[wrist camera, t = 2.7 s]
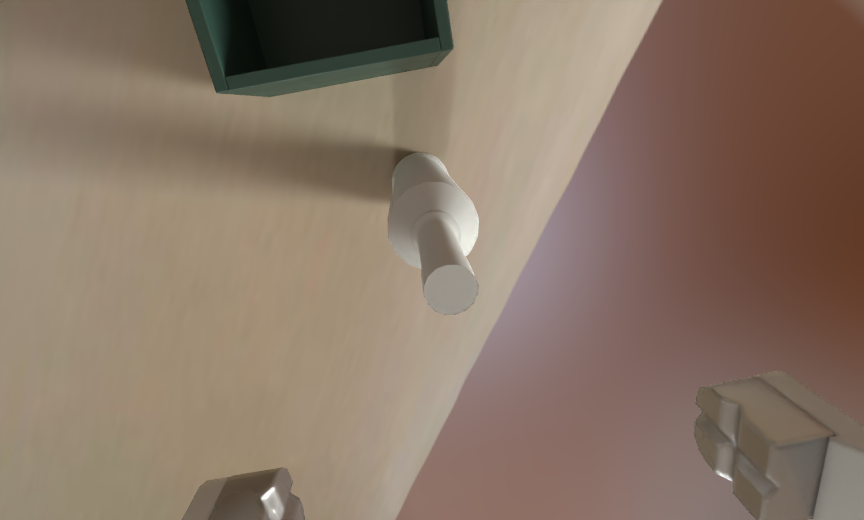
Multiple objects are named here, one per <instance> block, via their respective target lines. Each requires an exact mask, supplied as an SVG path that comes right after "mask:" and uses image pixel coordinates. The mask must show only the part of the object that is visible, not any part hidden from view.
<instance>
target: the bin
mask: <svg viewBox="0 0 864 520" xmlns="http://www.w3.org/2000/svg"><path fill="white" fill-rule="evenodd" d="M186 3H187V6H188V9H189V12H190V15H191V18H192V21H193V24H194V27H195V30H196V33H197V36H198V39H199V42H200V45H201V48H202V51H203V54H204V57H205V60H206V63H207V66H208V69H209V72H210V75H211V78H212V81H213V85H214V88H215V91H216V93H222V94H235V95H249V96H263V97H272V96H278V95H283V94H288V93H294V92H299V91H304V90H310V89H315V88H320V87H326V86H331V85H336V84H342V83H347V82H352V81H358V80H363V79H368V78H374V77H379V76H384V75H390V74H395V73H400V72H406V71H411V70H416V69H422V68H427V67H432V66H437V65H438V64H439V63H440V62H441V61H442V60H443V59H444V58H445V57H446V56H447V55H448V54H449V53H450V52H451V51H452V50H453V48H454V47H453V40H452V33H451V26H450V19H449V12H448V5H447V0H186Z"/></svg>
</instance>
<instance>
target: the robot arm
mask: <svg viewBox="0 0 864 520" xmlns="http://www.w3.org/2000/svg"><path fill="white" fill-rule="evenodd" d="M696 405H697V406H698V407H699V408H700V409H701V410H702V413H701V414H700V415H699V417H698V418H697V419H696V421H695V422H694V436H695V439H696V442H697V445H698V448H699V451H700V452H701V454H702V456H703V458H704V459H705V461H706V462H707V463H708V465H709V466H710V467H711V468H712V470H713V471H714V472H715V473H717V474H719V475H721V476H723V477H724V478H726V479H729V480H730V481H732V487H733V494H734V495H735V496H736V498H737V499H738V500H739V501H740V502H741V503H742V505H743V506H744V507H745V508H746V509H747V510H748V511H749V513H750V514H751V515H752V516H753V517H754V518H755V519H756V520H810V519H813V520H864V426H863V425H862V424H860V423H859V422H857V421H856V420H854V419H853V418H852V417H850V416H848V415H847V414H846V413H844V412H843V411H841V410H840V409H838V408H837V407H835V406H834V405H833V404H831V403H829V402H828V401H827V400H825V399H824V398H822V397H821V396H820V395H818V394H816V393H815V392H814V391H812V390H811V389H809V388H808V387H806V386H805V385H803V384H802V383H801V382H799V381H798V380H796V379H795V378H793V377H792V376H790V375H789V374H787V373H784V372H780V371H775V372H770V373H765V374H760V375H755V376H752V377H747V378H742V379H737V380H732V381H727V382H722V383H717V384H712V385H707V386H702V387H700V388H699V390H698V391H697V393H696ZM292 483H293V480H292V478H291V476H290V474H289V472H288V469H286V468H277V469H271V470H265V471H259V472H252V473H246V474H240V475H234V476H232V477H227V478H220V479H214V480H208V481H206V482H205V483H204V484H202V485H201V486H200V487H199V489H198V490H197V492H196V494H195V496H194V498H193V500H192V502H191V504H190V505H189V507H188V509H187V511H186V513H185V515H184V517H183V519H182V520H305V516H304V510H303V506H302V503H301V501H300V498H298V497H297V496H295V495H294V494H292V493H291V492H290V490H291V486H292Z"/></svg>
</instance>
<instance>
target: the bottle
mask: <svg viewBox="0 0 864 520" xmlns="http://www.w3.org/2000/svg"><path fill="white" fill-rule="evenodd" d="M392 189H393V192H392V198H391V203H390V209H389V214H388V238H389V240H390V242H391V244H392V247H393V249H394V251H395V253H396V254H397V255H398V256H399V257H401V258H402V259H403V260H404V261H405V262H406V263H407V264H409V265H411V266H414V267H417V268H419V269H421V277H422V285H423V292H424V297H425V299H426V301H427V304H428V305H429V306H430V307H431V308H432V309H433V310H434V311H436V312H439V313H441V314H444V315H456V314H458V313H461V312H464V311H466V310H467V309H468V308H469V307H470V306H471V305H473V303H474V301H475V299H476V297H477V295H478V283H477V280H476V278H475V275H474V273H473V271H472V268H471V266H470V264H469V262H468V259H467V258H466V257H465V256H466V255H468V254H469V253H470V252H471V250H472V248H473V245H474V243H475V241H476V239H477V237H478V226H479V218H478V215H477V212H476V210H475V207H474V204H473V202H472V201H471V200H470V199H469V197H468V196H467V195H466V194H465V193H464V192H463V191H462V190H461V189H460V187H459V186H458V185H457V184H456V183H455V182H454V181H453V180H452V178H451V177H450V176H449V175H448V172H447V170H446V167H445V166H444V165H443V164H442V163H441V161H440V160H439V159H438V158H437V157H435V156H432V155H430V154H428V153H413V154H411V155H408V156H406V157H404V158H403V159H402V160H401V161H400V162H399V163H398V164H397V165H396V168H395V170H394V173H393V175H392Z"/></svg>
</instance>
